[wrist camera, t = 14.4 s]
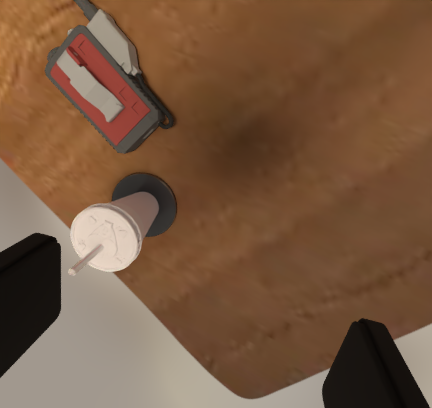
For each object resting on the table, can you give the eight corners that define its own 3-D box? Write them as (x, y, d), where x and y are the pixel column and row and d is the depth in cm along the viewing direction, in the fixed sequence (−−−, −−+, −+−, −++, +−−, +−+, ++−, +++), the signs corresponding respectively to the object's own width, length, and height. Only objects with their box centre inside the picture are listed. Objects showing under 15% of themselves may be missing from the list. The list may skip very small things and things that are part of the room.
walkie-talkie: (191, 109, 31) (53, -53, 28) (181, 109, 26) (17, -82, 23) (137, 162, 33) (6, 19, 30) (120, 169, 29) (-34, 4, 26)
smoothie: (112, 218, 35) (27, 282, 22) (126, 171, 33) (40, 212, 20) (160, 238, 35) (103, 315, 22) (176, 193, 33) (124, 247, 20)
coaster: (116, 166, 34) (113, 167, 33) (181, 180, 33) (180, 181, 33) (112, 227, 36) (109, 229, 36) (172, 241, 36) (171, 243, 35)
